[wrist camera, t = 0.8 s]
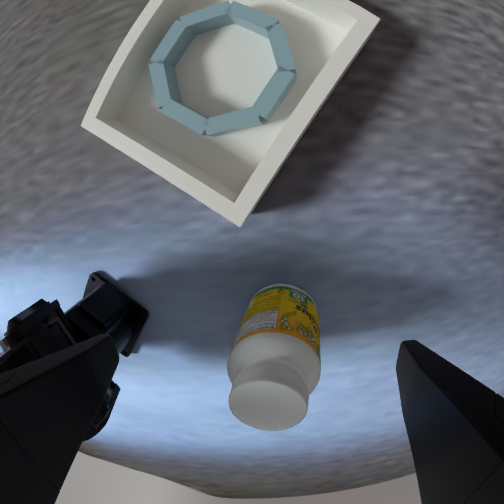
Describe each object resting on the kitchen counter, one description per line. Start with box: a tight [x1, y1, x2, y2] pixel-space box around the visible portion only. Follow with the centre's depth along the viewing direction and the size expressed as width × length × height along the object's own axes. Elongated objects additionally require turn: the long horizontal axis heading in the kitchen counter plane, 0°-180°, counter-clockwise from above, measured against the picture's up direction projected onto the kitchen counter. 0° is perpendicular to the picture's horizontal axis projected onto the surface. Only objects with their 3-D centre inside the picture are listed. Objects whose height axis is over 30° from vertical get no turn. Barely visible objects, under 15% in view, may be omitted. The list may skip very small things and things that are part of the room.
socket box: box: [81, 0, 380, 227], centre depth 16 cm, size 15×13×4 cm
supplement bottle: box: [227, 283, 321, 431], centre depth 18 cm, size 5×5×10 cm
